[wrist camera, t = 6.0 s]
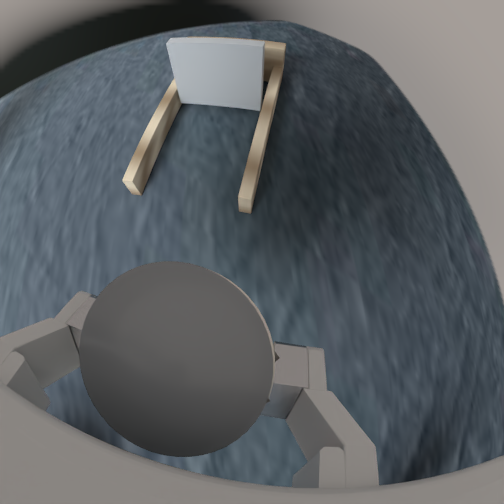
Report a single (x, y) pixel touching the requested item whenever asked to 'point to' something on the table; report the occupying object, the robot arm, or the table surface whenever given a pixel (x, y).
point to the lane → (167, 113)
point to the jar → (176, 359)
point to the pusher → (218, 71)
